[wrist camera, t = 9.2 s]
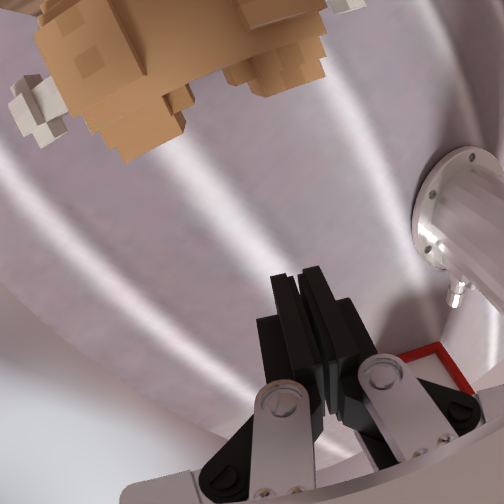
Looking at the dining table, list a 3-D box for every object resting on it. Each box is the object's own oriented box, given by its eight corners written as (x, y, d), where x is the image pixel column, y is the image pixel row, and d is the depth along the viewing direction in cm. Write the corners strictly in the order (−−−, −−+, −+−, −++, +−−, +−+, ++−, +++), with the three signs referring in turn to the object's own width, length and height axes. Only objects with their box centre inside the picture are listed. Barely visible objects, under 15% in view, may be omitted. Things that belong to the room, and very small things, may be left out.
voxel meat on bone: (38, 47, 15) (-53, 46, 6) (285, -62, 13) (343, -129, 5) (97, 164, 20) (37, 230, 12) (339, 58, 19) (430, 59, 10)
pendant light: (352, 410, 42) (419, 584, 17) (366, 364, 36) (463, 579, 11) (416, 389, 43) (492, 541, 18) (439, 341, 37) (543, 517, 12)
